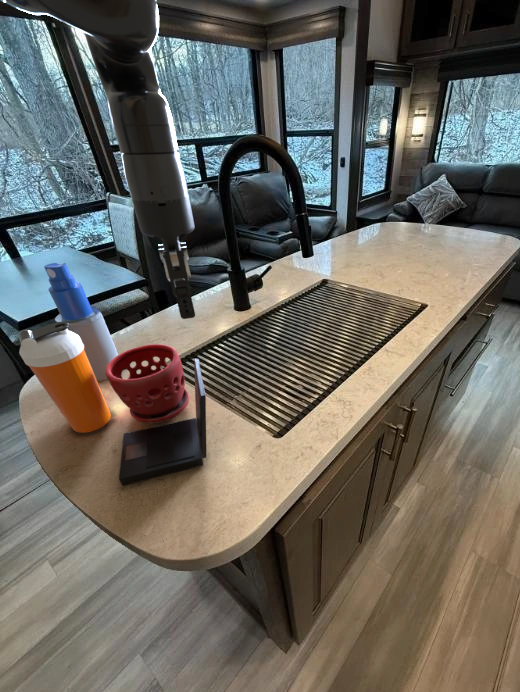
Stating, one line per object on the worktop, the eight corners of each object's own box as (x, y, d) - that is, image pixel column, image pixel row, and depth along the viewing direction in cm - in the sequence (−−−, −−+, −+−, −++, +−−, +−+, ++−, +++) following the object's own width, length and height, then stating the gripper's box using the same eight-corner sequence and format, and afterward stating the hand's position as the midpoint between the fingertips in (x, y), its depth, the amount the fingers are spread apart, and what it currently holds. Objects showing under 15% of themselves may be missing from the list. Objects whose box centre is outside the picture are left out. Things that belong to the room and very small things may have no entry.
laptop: (122, 486, 54) (118, 478, 53) (126, 440, 62) (123, 433, 61) (203, 465, 57) (201, 458, 56) (197, 424, 65) (195, 417, 64)
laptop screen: (200, 395, 48) (205, 395, 49) (193, 358, 57) (198, 358, 57) (201, 458, 56) (206, 457, 56) (195, 417, 64) (200, 417, 64)
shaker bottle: (123, 419, 66) (81, 328, 54) (76, 443, 61) (17, 349, 49) (105, 401, 71) (62, 313, 59) (60, 421, 66) (2, 330, 54)
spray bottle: (108, 382, 77) (58, 272, 61) (74, 379, 78) (16, 270, 62) (130, 362, 83) (89, 258, 68) (98, 359, 85) (51, 257, 69)
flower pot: (169, 383, 76) (155, 336, 69) (205, 406, 70) (192, 357, 62) (114, 411, 68) (90, 362, 61) (147, 440, 62) (126, 389, 54)
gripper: (133, 189, 50) (162, 295, 60) (127, 203, 39) (164, 329, 49) (184, 187, 52) (204, 290, 62) (192, 199, 41) (214, 321, 51)
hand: (186, 307), depth 55 cm, fingers open, 8 cm apart
